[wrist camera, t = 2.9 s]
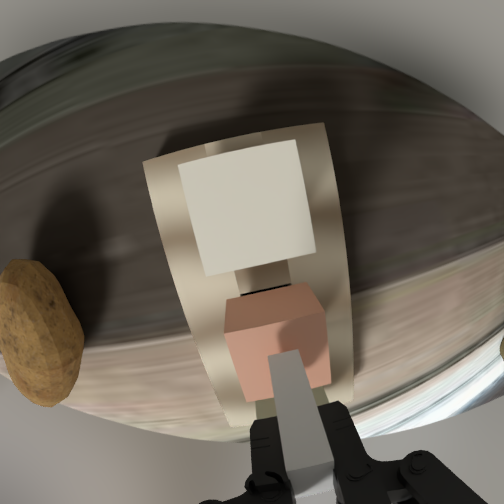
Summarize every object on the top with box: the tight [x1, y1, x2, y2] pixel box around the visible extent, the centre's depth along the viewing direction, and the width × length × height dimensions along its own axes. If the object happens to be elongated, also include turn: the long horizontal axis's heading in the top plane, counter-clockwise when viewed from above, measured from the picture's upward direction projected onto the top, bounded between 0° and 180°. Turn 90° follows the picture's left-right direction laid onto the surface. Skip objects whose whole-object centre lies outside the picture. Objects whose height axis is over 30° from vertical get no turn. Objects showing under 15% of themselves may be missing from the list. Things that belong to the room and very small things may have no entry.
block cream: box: [178, 139, 316, 277], centre depth 15 cm, size 5×5×6 cm
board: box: [143, 122, 354, 428], centre depth 21 cm, size 24×12×2 cm, turn 12°
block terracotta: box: [224, 282, 331, 402], centre depth 17 cm, size 5×5×6 cm
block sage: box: [255, 386, 329, 420], centre depth 19 cm, size 5×5×6 cm
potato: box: [0, 259, 84, 407], centre depth 18 cm, size 10×14×8 cm
